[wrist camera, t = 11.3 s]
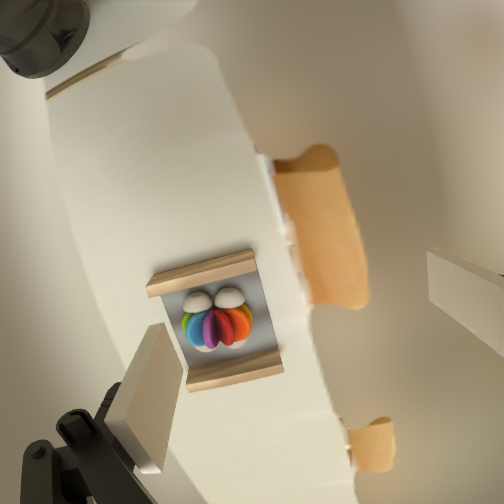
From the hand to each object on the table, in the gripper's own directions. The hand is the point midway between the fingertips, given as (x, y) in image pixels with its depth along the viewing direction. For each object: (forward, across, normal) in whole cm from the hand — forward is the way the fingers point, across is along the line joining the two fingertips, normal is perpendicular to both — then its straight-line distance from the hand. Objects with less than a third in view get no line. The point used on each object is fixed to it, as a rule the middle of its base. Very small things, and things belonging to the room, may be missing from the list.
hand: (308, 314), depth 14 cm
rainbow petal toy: (+28, -9, -11) cm, 32 cm away
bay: (+29, -9, -12) cm, 32 cm away
